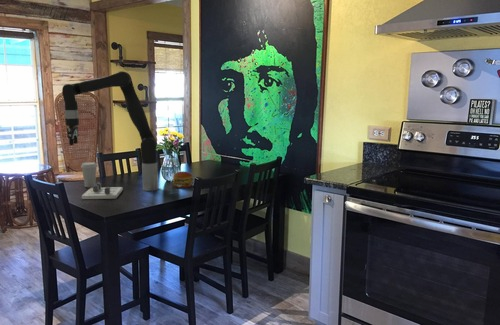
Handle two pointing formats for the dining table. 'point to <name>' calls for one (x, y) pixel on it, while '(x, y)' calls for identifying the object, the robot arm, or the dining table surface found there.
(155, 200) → the dining table surface
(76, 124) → the robot arm
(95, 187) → the middle switch
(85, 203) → the dining table surface
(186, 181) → the burger
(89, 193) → the switch panel
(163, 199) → the dining table surface
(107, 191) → the front switch
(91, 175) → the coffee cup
